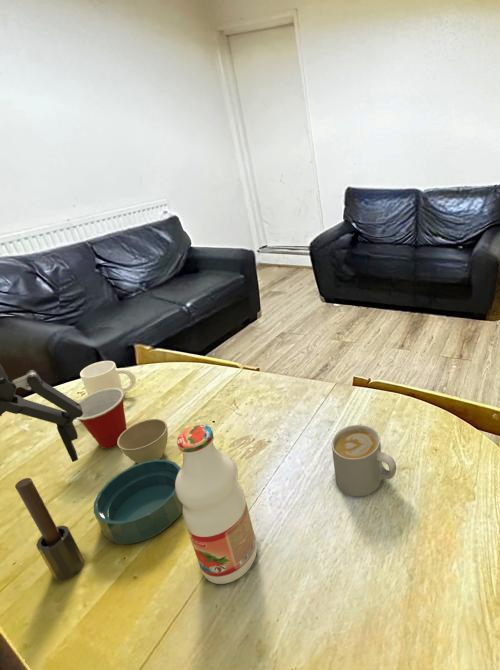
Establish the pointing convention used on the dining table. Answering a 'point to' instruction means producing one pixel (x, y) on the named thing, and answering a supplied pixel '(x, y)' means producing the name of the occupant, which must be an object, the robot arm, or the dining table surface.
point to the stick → (38, 511)
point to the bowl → (139, 502)
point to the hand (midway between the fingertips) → (21, 479)
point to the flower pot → (144, 440)
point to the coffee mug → (360, 460)
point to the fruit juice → (214, 507)
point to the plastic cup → (104, 416)
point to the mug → (105, 377)
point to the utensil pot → (62, 555)
